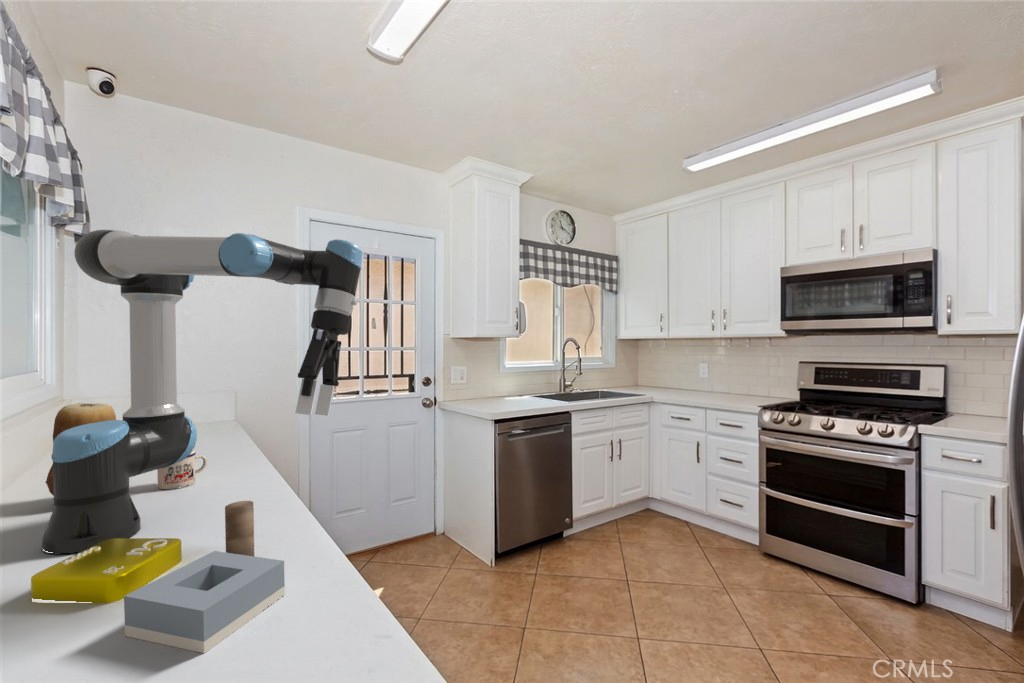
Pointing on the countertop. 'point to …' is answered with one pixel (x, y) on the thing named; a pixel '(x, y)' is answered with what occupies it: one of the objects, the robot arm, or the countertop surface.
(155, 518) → the countertop surface
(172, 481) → the enamel mug
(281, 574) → the socket block
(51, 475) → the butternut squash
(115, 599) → the element tile
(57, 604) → the countertop surface
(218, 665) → the countertop surface
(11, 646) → the countertop surface
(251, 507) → the pin
